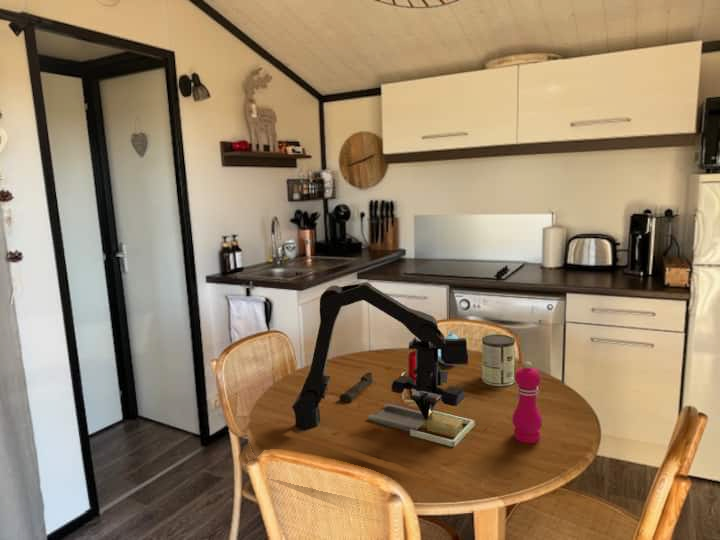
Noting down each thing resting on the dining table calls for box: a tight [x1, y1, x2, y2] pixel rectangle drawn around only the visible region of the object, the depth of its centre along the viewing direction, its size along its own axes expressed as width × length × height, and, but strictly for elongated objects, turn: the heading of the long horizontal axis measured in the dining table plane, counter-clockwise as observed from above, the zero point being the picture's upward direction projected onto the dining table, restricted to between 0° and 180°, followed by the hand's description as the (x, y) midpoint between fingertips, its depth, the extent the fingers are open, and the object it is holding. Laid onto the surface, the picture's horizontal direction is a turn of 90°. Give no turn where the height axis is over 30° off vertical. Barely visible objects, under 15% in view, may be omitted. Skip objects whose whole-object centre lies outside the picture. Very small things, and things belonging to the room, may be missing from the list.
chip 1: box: [426, 413, 448, 435], centre depth 134 cm, size 4×4×4 cm
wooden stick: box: [339, 372, 373, 404], centre depth 161 cm, size 19×4×5 cm, turn 151°
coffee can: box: [481, 334, 516, 387], centre depth 167 cm, size 10×10×14 cm
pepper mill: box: [511, 361, 543, 444], centre depth 129 cm, size 7×7×20 cm
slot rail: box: [367, 402, 427, 433], centre depth 141 cm, size 10×14×2 cm
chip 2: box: [441, 416, 463, 438], centre depth 132 cm, size 4×4×4 cm
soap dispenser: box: [438, 331, 459, 365], centre depth 188 cm, size 18×10×9 cm, turn 158°
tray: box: [409, 410, 476, 448], centre depth 134 cm, size 13×12×2 cm
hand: (427, 420), depth 136 cm, fingers closed
